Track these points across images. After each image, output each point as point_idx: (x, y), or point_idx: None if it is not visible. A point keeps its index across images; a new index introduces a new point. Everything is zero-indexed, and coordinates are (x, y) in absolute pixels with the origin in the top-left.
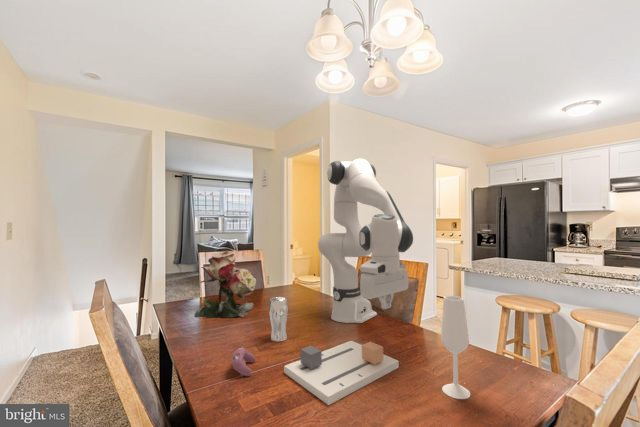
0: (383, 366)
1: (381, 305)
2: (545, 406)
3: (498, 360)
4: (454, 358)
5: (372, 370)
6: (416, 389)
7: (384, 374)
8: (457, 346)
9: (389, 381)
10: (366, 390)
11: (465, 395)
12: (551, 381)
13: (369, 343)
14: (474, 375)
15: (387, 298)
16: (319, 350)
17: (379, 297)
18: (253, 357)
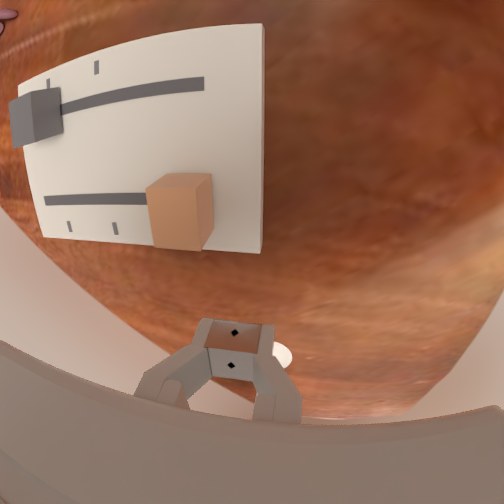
0: None
1: (197, 331)
2: (319, 416)
3: (441, 361)
4: (253, 411)
5: None
6: (210, 312)
7: None
8: None
9: (185, 261)
10: (121, 246)
11: None
12: (396, 409)
13: (179, 198)
14: (353, 360)
15: (264, 383)
16: (32, 136)
17: (146, 384)
18: (7, 17)
